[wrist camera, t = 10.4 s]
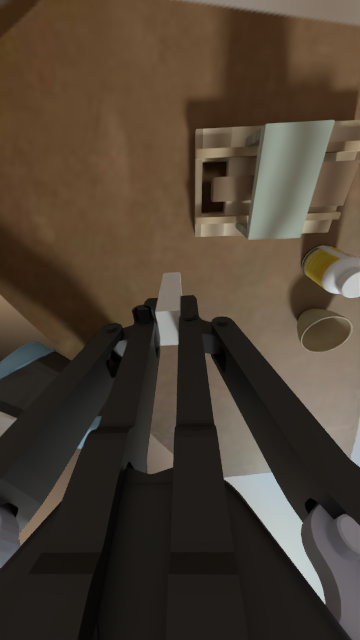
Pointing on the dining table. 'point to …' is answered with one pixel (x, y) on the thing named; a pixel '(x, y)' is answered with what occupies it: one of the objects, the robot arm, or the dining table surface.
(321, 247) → the pill bottle
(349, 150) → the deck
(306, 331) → the flower pot
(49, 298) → the dining table surface
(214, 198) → the tan wooden bar
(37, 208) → the dining table surface
